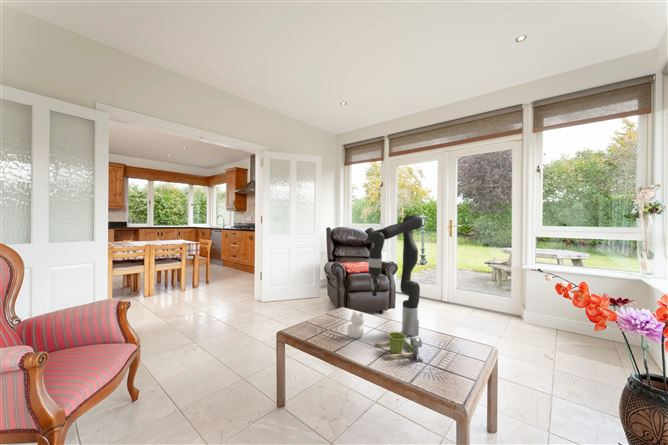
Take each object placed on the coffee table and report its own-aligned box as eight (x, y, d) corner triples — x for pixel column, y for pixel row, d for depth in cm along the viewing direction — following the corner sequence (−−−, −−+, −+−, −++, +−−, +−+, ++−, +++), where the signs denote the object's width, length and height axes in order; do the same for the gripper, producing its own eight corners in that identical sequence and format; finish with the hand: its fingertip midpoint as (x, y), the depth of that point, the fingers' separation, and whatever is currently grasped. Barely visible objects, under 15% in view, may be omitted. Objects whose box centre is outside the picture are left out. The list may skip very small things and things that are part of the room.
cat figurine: (366, 336, 162) (367, 312, 162) (354, 342, 153) (355, 316, 153) (355, 332, 168) (356, 308, 168) (342, 337, 159) (343, 312, 159)
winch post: (417, 356, 138) (417, 331, 138) (422, 361, 133) (423, 335, 133) (404, 357, 136) (405, 332, 136) (409, 362, 131) (410, 336, 132)
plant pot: (406, 350, 145) (407, 334, 145) (403, 357, 137) (403, 340, 137) (389, 346, 149) (390, 330, 149) (385, 353, 141) (385, 336, 141)
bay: (403, 343, 153) (403, 338, 153) (418, 356, 138) (418, 350, 138) (374, 346, 149) (374, 340, 149) (386, 359, 134) (386, 353, 134)
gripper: (385, 267, 149) (385, 298, 148) (376, 264, 162) (375, 292, 161) (373, 267, 147) (372, 299, 147) (365, 264, 160) (364, 293, 159)
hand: (374, 295), depth 154 cm, fingers closed
